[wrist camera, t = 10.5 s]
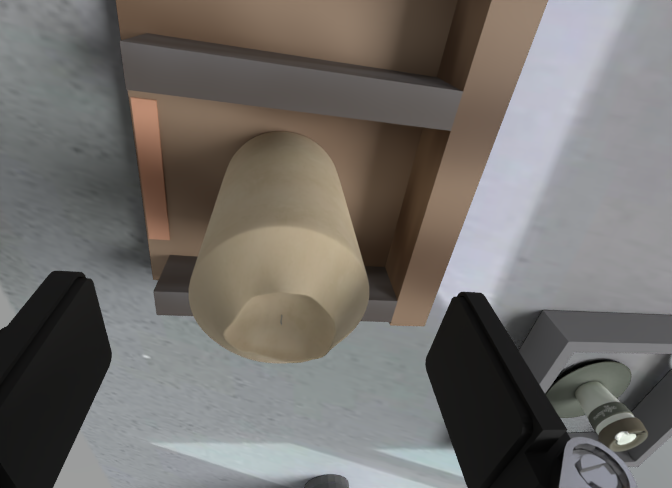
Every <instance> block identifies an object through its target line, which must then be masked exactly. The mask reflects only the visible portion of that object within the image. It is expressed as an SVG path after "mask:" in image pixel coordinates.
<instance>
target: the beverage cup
mask: <svg viewBox="0 0 672 488" xmlns="http://www.w3.org/2000/svg"><path fill="white" fill-rule="evenodd" d="M304 488H349V484H348V480H347V479H346V478H344V477H342V476H339V475H323V476H319V477H316V478H313V479H312V480H310V481H308V482H307V483H306V484H305V487H304Z"/></svg>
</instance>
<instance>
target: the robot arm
mask: <svg viewBox="0 0 672 488" xmlns="http://www.w3.org/2000/svg"><path fill="white" fill-rule="evenodd" d="M111 357H112V352H111V348H110V344H109V340H108V336H107V333H106V329H105V325H104V321H103V317H102V314H101V310H100V306H99V302H98V298H97V295H96V291H95V287H94V283H93V281H92V280H91V279H88V278H86V277H85V275H84V274H83V273H82V272H69V271H53V272H51V273H50V274H49V275H48V277H47V278H46V279H45V280H44V281H43V283H42V284H41V285H40V286H39V288H38V289H37V290H36V291H35V293H34V294H33V295H32V296H31V297H30V299H29V300H28V301H27V302H26V304H25V305H24V306H23V307H22V309H21V310H20V311H19V312H18V313H17V315H16V316H15V317H14V318H13V320H12V321H11V322H10V323H9V325H8V326H7V327H4V328H2V329H1V330H0V488H53V486H54V484H55V482H56V480H57V478H58V475H59V473H60V471H61V469H62V467H63V465H64V462H65V460H66V458H67V456H68V454H69V452H70V450H71V448H72V445H73V443H74V441H75V439H76V437H77V434H78V432H79V430H80V428H81V426H82V424H83V422H84V420H85V417H86V415H87V413H88V411H89V409H90V407H91V405H92V402H93V400H94V398H95V396H96V394H97V392H98V390H99V387H100V385H101V383H102V381H103V379H104V377H105V374H106V372H107V370H108V368H109V366H110V362H111ZM426 370H427V373H428V376H429V379H430V382H431V385H432V388H433V391H434V393H435V396H436V399H437V402H438V405H439V408H440V411H441V413H442V416H443V419H444V422H445V425H446V428H447V431H448V433H449V436H450V439H451V442H452V445H453V448H454V450H455V453H456V456H457V459H458V462H459V465H460V468H461V470H462V473H463V476H464V479H465V482H466V485H467V487H468V488H638V487H637V483H636V480H635V478H634V477H633V475H632V473H631V471H630V470H629V468H628V467H627V466H626V464H625V463H624V462H623V460H622V459H620V458H619V457H618V456H617V455H616V454H615V453H614V452H613V451H612V450H610V449H609V448H607V447H606V446H605V445H603V444H602V443H599V442H597V441H595V440H593V439H590V438H585V437H574V438H572V439H571V438H570V437H569V435H568V433H567V432H566V430H567V429H566V427H565V425H564V424H563V422H562V420H561V419H560V417H559V416H558V414H557V412H556V411H555V409H554V407H553V406H552V404H551V403H550V401H549V399H548V398H547V396H546V394H545V393H544V391H543V390H542V388H541V386H540V385H539V383H538V382H537V380H536V378H535V377H534V375H533V373H532V372H531V370H530V369H529V367H528V365H527V364H526V362H525V360H524V359H523V357H522V356H521V354H520V352H519V351H518V349H517V348H516V346H515V344H514V343H513V341H512V339H511V338H510V336H509V335H508V333H507V331H506V330H505V328H504V326H503V325H502V323H501V322H500V320H499V318H498V317H497V315H496V313H495V312H494V310H493V309H492V307H491V305H490V304H489V302H488V301H487V299H486V297H485V296H484V295H483V294H482V293H475V292H460V293H459V294H458V296H457V297H453V298H452V300H451V302H450V305H449V307H448V309H447V311H446V314H445V316H444V318H443V321H442V323H441V325H440V327H439V330H438V332H437V334H436V337H435V339H434V341H433V344H432V346H431V348H430V350H429V353H428V355H427V357H426Z"/></svg>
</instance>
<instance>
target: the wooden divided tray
mask: <svg viewBox="0 0 672 488" xmlns="http://www.w3.org/2000/svg"><path fill="white" fill-rule="evenodd" d="M547 2H548V0H116V6H117V14H118V21H119V29H120V36H121V41H120V48H121V56H122V63H123V70H124V78H125V85H126V90H128V96H129V103H130V111H131V118H132V126H133V133H134V141H135V148H136V155H137V163H138V170H139V178H140V185H141V193H142V200H143V208H144V215H145V223H146V230H147V238H148V245H149V252H150V260H151V267H152V275H153V280H158V282H157V285H156V287H155V289H154V298H155V306H156V313H157V315H176V316H193V313H192V311H191V308H190V303H189V284H190V279H191V276H192V273H193V270H194V267H195V264H196V261H197V258H198V255H199V252H200V249H201V245H202V242H203V239H204V236H205V233H206V230H207V227H208V224H209V221H210V218H211V215H212V212H213V209H214V206H215V203H216V200H217V197H218V194H219V191H220V188H221V184H222V181H223V178H224V175H225V173H226V170H227V167H228V165H229V163H230V161H231V159H232V157H233V156H234V154H235V153H236V152H237V151H238V150H239V149H240V148H241V147H242V146H243V145H244V144H245V143H246V142H248V141H249V140H251V139H252V138H254V137H256V136H259V135H261V134H264V133H269V132H276V131H285V132H292V133H297V134H300V135H303V136H305V137H307V138H309V139H311V140H312V141H314V142H316V143H317V144H318V145H319V146H320V147H322V149H323V150H324V151H325V152H326V153H327V154H328V155H329V157H330V158H331V160H332V162H333V164H334V165H335V168H336V171H337V174H338V177H339V180H340V183H341V186H342V190H343V193H344V197H345V200H346V204H347V207H348V211H349V214H350V218H351V221H352V225H353V228H354V232H355V235H356V239H357V242H358V246H359V249H360V253H361V256H362V260H363V263H364V267H365V270H366V274H367V277H368V283H369V300H368V305H367V308H366V311H365V313H364V315H363V317H362V319H361V321H375V322H389V323H390V325H397V326H425V323H426V321H427V318H428V315H429V313H430V310H431V308H432V305H433V302H434V300H435V297H436V294H437V292H438V289H439V287H440V284H441V281H442V279H443V276H444V273H445V271H446V268H447V265H448V263H449V260H450V258H451V255H452V252H453V250H454V247H455V244H456V242H457V239H458V236H459V234H460V231H461V229H462V226H463V223H464V221H465V218H466V215H467V213H468V210H469V208H470V205H471V202H472V200H473V197H474V194H475V192H476V189H477V186H478V184H479V181H480V179H481V176H482V173H483V171H484V168H485V165H486V163H487V160H488V157H489V155H490V152H491V150H492V147H493V144H494V142H495V139H496V136H497V134H498V131H499V129H500V126H501V123H502V121H503V118H504V115H505V113H506V110H507V107H508V105H509V102H510V100H511V97H512V94H513V92H514V89H515V86H516V84H517V81H518V79H519V76H520V73H521V71H522V68H523V65H524V63H525V60H526V57H527V55H528V52H529V50H530V47H531V44H532V42H533V39H534V36H535V34H536V31H537V28H538V26H539V23H540V21H541V18H542V15H543V13H544V10H545V7H546V5H547Z"/></svg>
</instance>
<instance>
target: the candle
mask: <svg viewBox="0 0 672 488" xmlns="http://www.w3.org/2000/svg"><path fill="white" fill-rule="evenodd" d="M368 300H369V283H368V277H367V274H366V270H365V267H364V263H363V260H362V256H361V253H360V249H359V246H358V242H357V239H356V235H355V232H354V228H353V225H352V221H351V218H350V214H349V211H348V207H347V204H346V200H345V197H344V193H343V190H342V186H341V183H340V180H339V177H338V174H337V171H336V168H335V165H334V164H333V162H332V160H331V158H330V157H329V155H328V154H327V153H326V152H325V151H324V150H323V149H322V147H320V146H319V145H318V144H317V143H316V142H314V141H312V140H311V139H309V138H307V137H305V136H303V135H300V134H297V133H292V132H285V131H276V132H269V133H264V134H261V135H259V136H256V137H254V138H252V139H251V140H249V141H248V142H246V143H245V144H244V145H243V146H242V147H241V148H240V149H239V150H238V151H237V152H236V153H235V154H234V156H233V157H232V159H231V161H230V163H229V165H228V167H227V170H226V173H225V175H224V178H223V181H222V184H221V188H220V191H219V194H218V197H217V200H216V203H215V206H214V209H213V212H212V215H211V218H210V221H209V224H208V227H207V230H206V233H205V236H204V239H203V242H202V245H201V249H200V252H199V255H198V258H197V261H196V264H195V267H194V270H193V273H192V276H191V279H190V284H189V303H190V308H191V311H192V313H193V316H194V318H195V320H196V321H197V323H198V325H199V326H200V327H201V328H202V330H203V331H204V332H205V333H206V334H207V335H208V336H209V337H210V338H211V339H213V340H214V341H215V342H217V343H218V344H219V345H221V346H222V347H224V348H225V349H227V350H229V351H231V352H233V353H235V354H237V355H240V356H242V357H245V358H248V359H251V360H255V361H259V362H266V363H301V362H305V361H309V360H312V359H318V358H321V357H323V356H325V355H326V354H327V353H328V352H329V351H330V350H331V349H332V348H333V347H334V346H336V345H337V344H338V343H339V342H341V341H342V340H343V339H344V338H345V337H347V336H348V335H349V334H350V333H351V332H352V331H353V330H354V329H355V328H356V326H357V325H358V324H359V322H360V321H361V319H362V317H363V315H364V313H365V311H366V308H367V305H368Z"/></svg>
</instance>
